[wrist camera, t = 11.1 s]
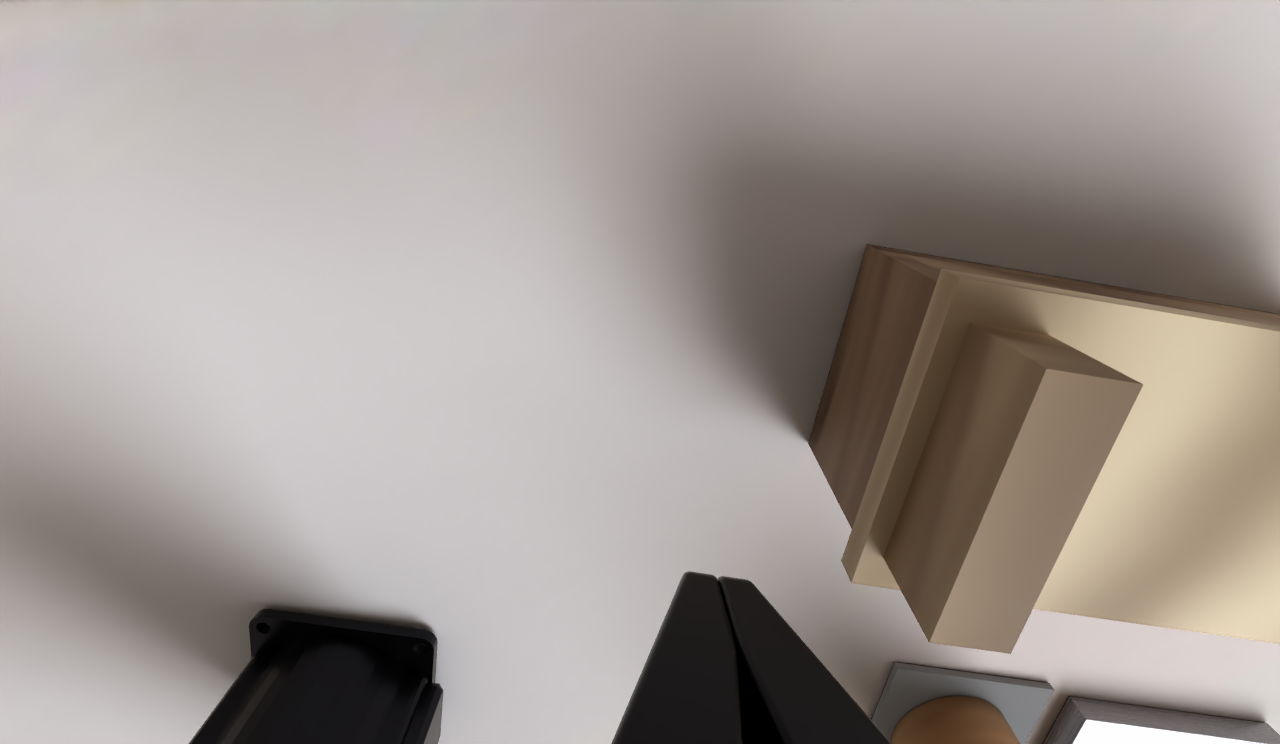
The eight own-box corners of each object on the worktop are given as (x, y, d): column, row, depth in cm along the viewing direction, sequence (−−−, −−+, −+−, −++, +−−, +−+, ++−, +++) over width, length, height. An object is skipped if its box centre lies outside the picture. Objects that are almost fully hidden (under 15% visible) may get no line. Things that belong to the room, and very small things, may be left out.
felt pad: (849, 773, 26) (851, 781, 25) (894, 662, 23) (898, 668, 23) (991, 791, 26) (994, 799, 26) (1049, 683, 24) (1054, 689, 23)
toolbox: (808, 443, 20) (857, 538, 16) (867, 244, 18) (944, 286, 13) (1192, 502, 21) (1349, 611, 16) (1297, 317, 18) (1515, 382, 14)
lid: (841, 560, 15) (891, 670, 12) (941, 269, 13) (1036, 314, 10) (1372, 637, 16) (1546, 759, 13) (1570, 375, 13) (1847, 450, 10)
